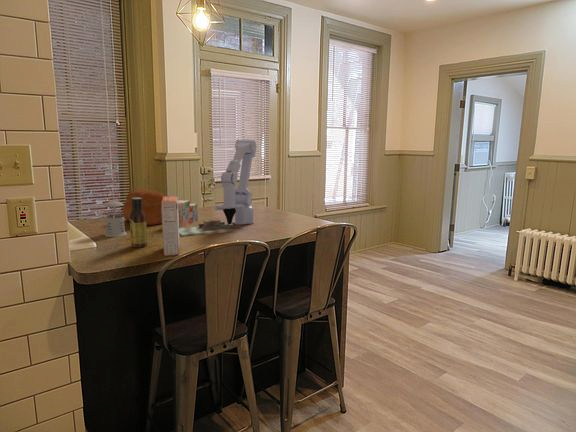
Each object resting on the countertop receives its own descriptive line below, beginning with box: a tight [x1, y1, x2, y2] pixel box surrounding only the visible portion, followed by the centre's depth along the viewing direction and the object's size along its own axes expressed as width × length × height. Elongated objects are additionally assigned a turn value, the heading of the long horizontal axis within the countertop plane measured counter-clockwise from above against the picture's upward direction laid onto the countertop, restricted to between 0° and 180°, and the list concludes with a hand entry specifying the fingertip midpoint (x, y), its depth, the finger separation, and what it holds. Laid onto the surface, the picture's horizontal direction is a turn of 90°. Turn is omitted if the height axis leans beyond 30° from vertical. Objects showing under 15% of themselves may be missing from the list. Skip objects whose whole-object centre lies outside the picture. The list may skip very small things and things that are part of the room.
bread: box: [122, 188, 165, 226], centre depth 215 cm, size 18×21×17 cm
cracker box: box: [161, 195, 181, 257], centre depth 159 cm, size 14×6×21 cm, turn 13°
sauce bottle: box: [129, 197, 148, 248], centre depth 166 cm, size 7×6×20 cm
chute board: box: [179, 226, 233, 237], centre depth 197 cm, size 24×14×1 cm, turn 119°
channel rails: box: [198, 221, 230, 231], centre depth 200 cm, size 13×8×2 cm, turn 119°
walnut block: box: [203, 218, 222, 226], centre depth 199 cm, size 7×5×4 cm, turn 119°
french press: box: [103, 179, 128, 238], centre depth 185 cm, size 10×12×25 cm
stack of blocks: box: [178, 199, 199, 228], centre depth 212 cm, size 21×6×12 cm, turn 169°
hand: (229, 223), depth 203 cm, fingers closed
